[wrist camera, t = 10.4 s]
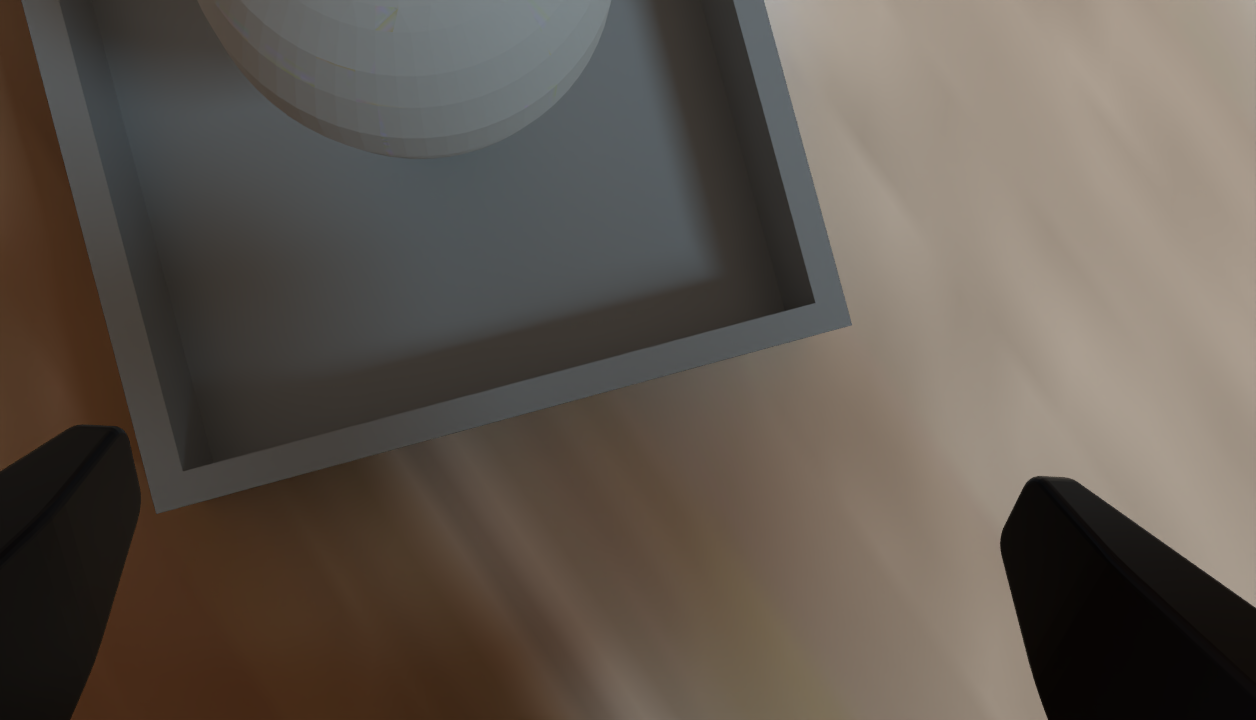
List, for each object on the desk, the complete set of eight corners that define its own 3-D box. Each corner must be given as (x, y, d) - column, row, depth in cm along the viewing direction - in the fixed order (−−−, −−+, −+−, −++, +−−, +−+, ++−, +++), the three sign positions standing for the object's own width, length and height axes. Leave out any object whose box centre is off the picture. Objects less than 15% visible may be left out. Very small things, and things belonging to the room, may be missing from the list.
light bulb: (264, 13, 19) (33, -403, 9) (526, -44, 20) (570, -480, 10) (341, 273, 19) (190, 136, 9) (599, 205, 20) (714, 12, 10)
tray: (809, 334, 21) (852, 325, 19) (199, 500, 19) (156, 514, 17) (654, -238, 21) (675, -323, 19) (33, -132, 19) (-35, -212, 17)
